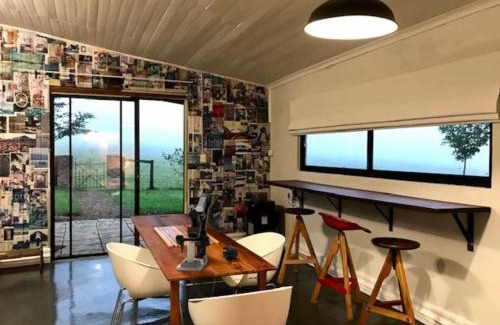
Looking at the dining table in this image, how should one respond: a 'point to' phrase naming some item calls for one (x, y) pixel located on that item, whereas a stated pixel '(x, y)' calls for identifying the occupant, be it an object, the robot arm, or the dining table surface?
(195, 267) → the jig
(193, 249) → the white tapered cylinder
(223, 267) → the dining table surface
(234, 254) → the end cap
